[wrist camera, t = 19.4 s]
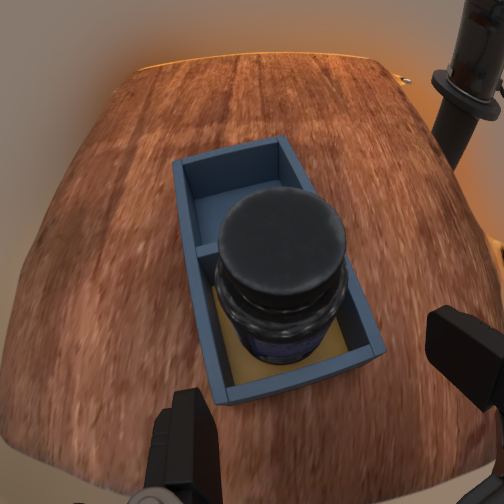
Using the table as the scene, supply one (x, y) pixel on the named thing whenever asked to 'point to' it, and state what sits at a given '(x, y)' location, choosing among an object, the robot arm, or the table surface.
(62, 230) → the table surface
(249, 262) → the pill bottle
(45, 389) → the table surface
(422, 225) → the table surface
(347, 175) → the table surface
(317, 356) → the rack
